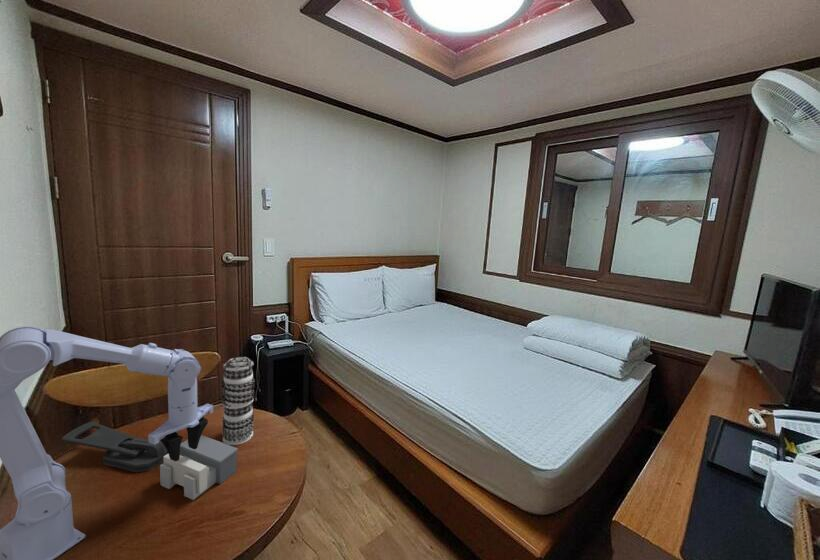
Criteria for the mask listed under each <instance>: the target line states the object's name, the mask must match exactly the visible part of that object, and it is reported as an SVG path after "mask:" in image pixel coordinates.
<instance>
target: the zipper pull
mask: <svg viewBox="0 0 820 560" xmlns="http://www.w3.org/2000/svg"><path fill="white" fill-rule="evenodd" d="M91 429H96V430H95V431H94V432H92V433H91V434H89V435H88V436H86V437H84V438H79V439H78V438H77V437H78V436H80V435H82V434H83V433H85V432H88V431H90V430H91ZM61 442H63V443H69V444H74V445H79V446H85V447H90V448H95V449H99V450H106V452H105V453H104V455H103V457H102V459H103V460H102V461H103V465H105V466H109V467H113V468H118V469H120V470H121V469H122V470H126V471H129V472H133V473H142V472H149V471H150V470H152V469H154V468H156V467H157V466H160V465H161V464H163V463H164V460H163V456H165V455H167V454H168V451H167V449H166V448H165V446H164V445H163V443H162V442H161V441H159V443H157V444H155V445H154V444H151V443H149V440H148V439H145V438H142V437H139V436H135V435H131V434H128V433H126V432H123V431H120V430H117V429H113V428H111V427H108V426H105V425H103V424H101V423H97V422H94V421H89V422H86V423H84V424H82V425H80V426H77V427H76V428H74V429H72V430H71V431H68V432H67V433H66V434H65V435H64V436H62V437H61Z"/></svg>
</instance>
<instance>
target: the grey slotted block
mask: <svg viewBox="0 0 820 560" xmlns="http://www.w3.org/2000/svg"><path fill="white" fill-rule="evenodd" d="M238 451H239V448H237V447H235V446H234V445H228V444H225V443H224V442H223V441H222V442H221V441H219V440H217V439H213V438H210V437H208V436H206V435H203V434H201V437H200V440H199V443H198V447H197V449H192V448H190V447H189V445H188V439H185V440H184V441H183V442H181V444H180V455H181V456H183V457H186V458H188V459H191V460H193V461H196V462H198V463H201V464H203V465H206V466H207V489H205V490H204V491H203V492H202V493H200V494H199V493H196V484H195V478H194V477H192V476H190V475H187V474H185V475H184V487H183V492H184V493H183V497H186V498H188V499H190V500H192V501H195V500H196V499H197V498H198V497H200V496H201V495H202V494H203V493H205V492H206V491H207V490H208V489H209V488H211V487H212V486H213V485H214V484H220V485H221V484H222V483H224V482H225V481H227V480H228V479H229V478H230V477H231V476H232V475H233V474H235V473H236V472H237V468H238V467H237V465H238V464H237V463H238V461H237V460H238V459H237V456H238V454H237V453H238ZM159 474H160V475H159V477H160V478H159V479H160V481H159V482H160V486H161V487H163V488H166V489H168V490H170V489H172V488H173V487H174V486H176V485H177V484H176V483H174V482H172V480H171V467H169V466H166V465H164V463H160V464H159Z"/></svg>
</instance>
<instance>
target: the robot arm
mask: <svg viewBox="0 0 820 560" xmlns="http://www.w3.org/2000/svg"><path fill="white" fill-rule="evenodd" d="M73 359H83V360H89V361H98V362H106V363H107V362H108V363H115V364H122V365H123V364H124V365H125V367H126V368H127V370H128V371H129V372H134V373H141V374H146V375H153V376H154V375H155V376H160V377H161V376H162V377H166V376H167V379H168V380H167V381H168V382H167V383H168V384H167V403H168V405H167V406H168V407H167V408H168V411H167V413H168V419H167V420H166V421H165V422H164V423H163V424H161V425H160V426H159V427H157V428H156V429H155V430H153V432H151V433H149V434H148V435H147V436H148V437H147V438H148V439H147V440H149V443H151V444H154V445H155V444H157V443H159V442H161V443H163V445H164V446H165V448H166V449H167V451H168V454H169V457H170V459H171V460H173V461H178V460H179V458H180V444H181V443H182V440H183V438H184V437H183V436H182V435H179V434H178V432H179V431H181V430H184V429H186V431H187V440H188V445H189V447H190V448H192V449H197V447H198V443H199V440H200V437H201V435H203V432H204V430H205V428H206V427H207V425H208V424H209V422H208V421H209V420H208V419H207V418H206V417H205V416H206V415H210V414H212V413H214V405H213V404H209V403H205V404H204V405H200V406H198V380H197V377H198V375H199V374H200V373H201V370H202V366H200V362H199V361H198V359H197V358H196V357H195V356H194V355H193V354H192V353H191V352H190V351H187V350H184V349H183V348H182V349H181V348H179V349H177V348H173V349H167V348H163V347H158V345H157V344H156V343H153V342H149V343H148V344H142V343H140V344H138V345H136V346H133V347H128V346H123V345H119V344H115V343H112V342H106V341H103V340H99V339H94V338H91V337H90V338H89V337H86V336H81V335H77V334H75V333H74V334H73V333H69V332H65V331H62V330H61V331H60V330H57V329H50V328H49V329H47V328H46V329H45V330H44V329H41V328H38V327H35V326H18V327H15V328H12V329H10V330H8V331H6V332H5V333H3V334H2V335H1V336H0V460H1V462H2V464H3V466H4V467H5V470H6V471H7V473H8V475H9V477H10V479H11V483H12V487H13V491H14V496H15V499H16V501H17V508H16V512H15V515H14V518H13V519H12V520H11V521H9V523H7V524H6V525H4V526H2V528H0V560H55V559H56V558H58V557H59V556H61V555H63V553H64V552H65V553H66V551H69V549H71V548H72V547H74V546H75V545H76V544H78V543H80V541H82V540H83V539H85V538H86V534H85V533H83V532H81V531H80V530H79V529H76V528H75V527H74V516H73V515H74V514H73V505H72V504H73V503H72V494H71V492H69V491H68V490H67V485H66V472H67V471H66V468H65V467H64V465H62V464H61V463H58V462H56V461H55V460H53V458H52V456H51V455H50V454H47V452H46V450H45V448H44V446H43V444H42V441H41V439H40V438H39V436H38V433H37V432H36V429H35V428H34V426H33V424H32V422H31V420H30V418H29V416H28V414H27V411H26V410H25V408H24V406H23V403H22V402H21V400H20V398H19V396H18V394H17V392H16V389H17V388H18V387H19V386H20V385H21V383H23V382H24V381H25V380H26V379H28V378H29V377H31V376H33V375H35V374H36V373H39V372H40V371H41V370H43V369H44V368H45V367H46V366H47V365H49V362H50V361H52V366H53V367H57V366H59V365H61V364H63V363H65V362H68V361H70V360H73Z"/></svg>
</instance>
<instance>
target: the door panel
mask: <svg viewBox="0 0 820 560" xmlns="http://www.w3.org/2000/svg"><path fill="white" fill-rule="evenodd" d="M163 460H164V461H163V464H164V465H166V466H169V467H171V480H172V482H174V483H176V485H179V486H182V487H183V488H184V475H185V474H187V475H190V476H192V477H194V478H195V484H196V493H199V494H200V493H202V492H203V491H204V490H205V489H207V466H206V465H203V464H201V463H198V462H196V461H193V460H191V459H188V458H186V457H183V456H181V455H180V458H179V460H178V461H173V460H171V459H170V457H169V454H167V455H165V456H163ZM207 490H208V489H207ZM204 492H205V491H204ZM204 492H203V493H204ZM203 493H202V494H203Z"/></svg>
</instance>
